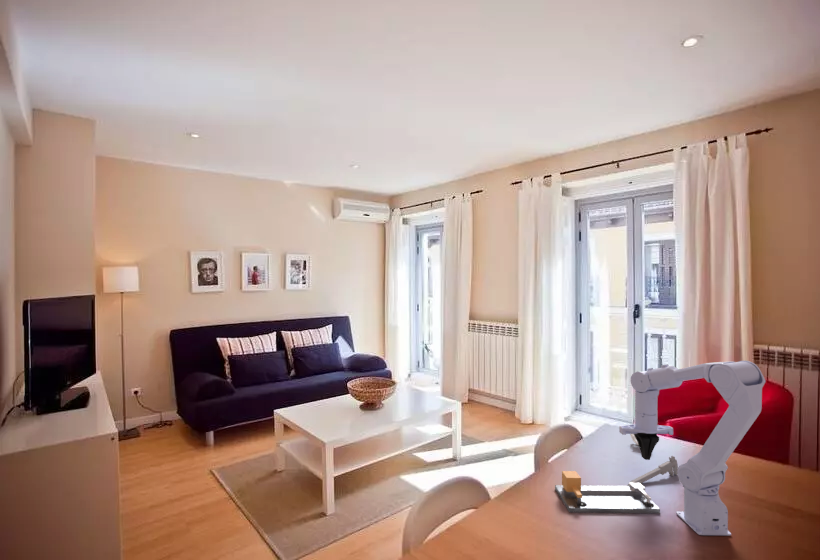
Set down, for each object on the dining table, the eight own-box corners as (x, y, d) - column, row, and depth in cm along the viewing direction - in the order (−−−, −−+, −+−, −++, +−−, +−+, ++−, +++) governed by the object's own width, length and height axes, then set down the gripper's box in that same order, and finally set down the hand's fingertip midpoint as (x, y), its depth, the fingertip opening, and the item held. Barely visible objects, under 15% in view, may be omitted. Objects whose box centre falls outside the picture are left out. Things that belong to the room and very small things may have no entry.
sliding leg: (587, 504, 114) (587, 486, 114) (572, 503, 114) (572, 486, 114) (575, 487, 122) (575, 471, 122) (561, 487, 122) (561, 471, 122)
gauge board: (660, 513, 112) (660, 500, 112) (569, 512, 113) (569, 499, 112) (637, 489, 124) (637, 478, 124) (555, 489, 125) (555, 477, 124)
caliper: (674, 474, 134) (674, 454, 134) (677, 475, 133) (677, 456, 133) (627, 486, 126) (627, 466, 126) (630, 488, 125) (630, 467, 125)
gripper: (663, 407, 126) (663, 452, 126) (614, 407, 126) (614, 452, 127) (677, 415, 119) (677, 463, 119) (626, 415, 119) (625, 462, 120)
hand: (645, 458), depth 123 cm, fingers closed
